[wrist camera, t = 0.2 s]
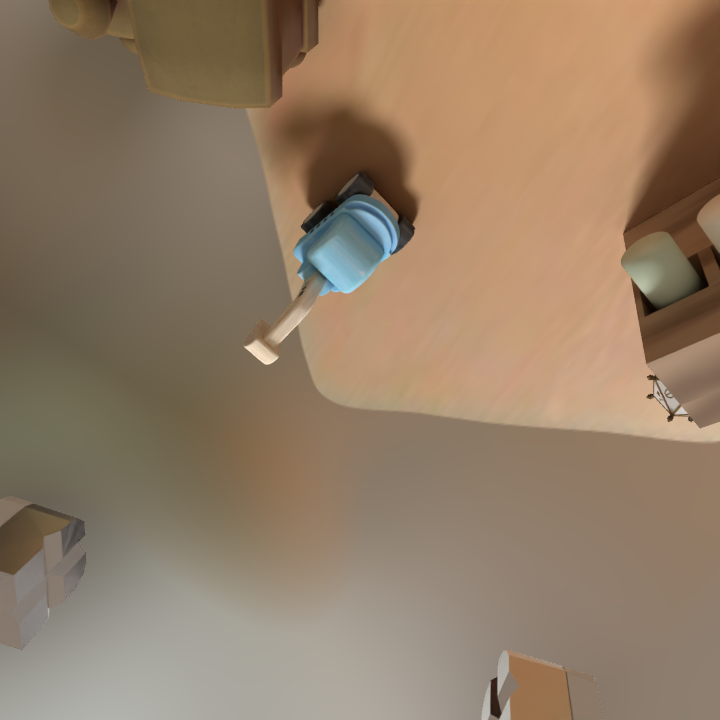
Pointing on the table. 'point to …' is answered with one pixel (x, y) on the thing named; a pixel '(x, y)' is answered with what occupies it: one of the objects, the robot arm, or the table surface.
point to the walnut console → (685, 313)
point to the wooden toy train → (204, 43)
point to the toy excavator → (335, 255)
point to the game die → (666, 399)
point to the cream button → (711, 221)
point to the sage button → (661, 270)
